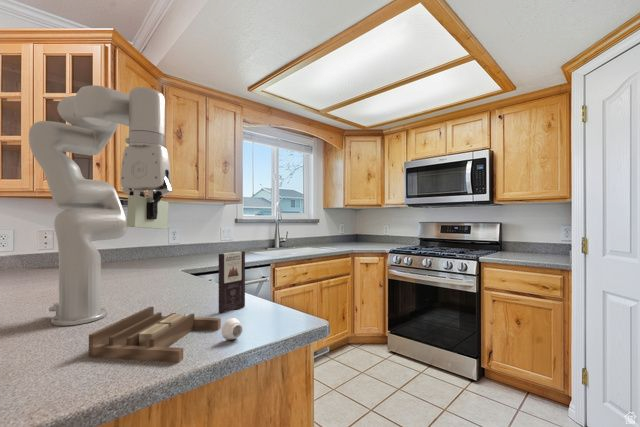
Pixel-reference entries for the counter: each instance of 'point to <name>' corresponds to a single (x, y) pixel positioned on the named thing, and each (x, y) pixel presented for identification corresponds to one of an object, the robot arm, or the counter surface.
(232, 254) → the chocolate bar
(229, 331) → the white jar
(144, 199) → the sage green slab
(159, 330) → the offcut
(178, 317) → the offcut
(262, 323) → the counter surface
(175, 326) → the rack
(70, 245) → the robot arm
